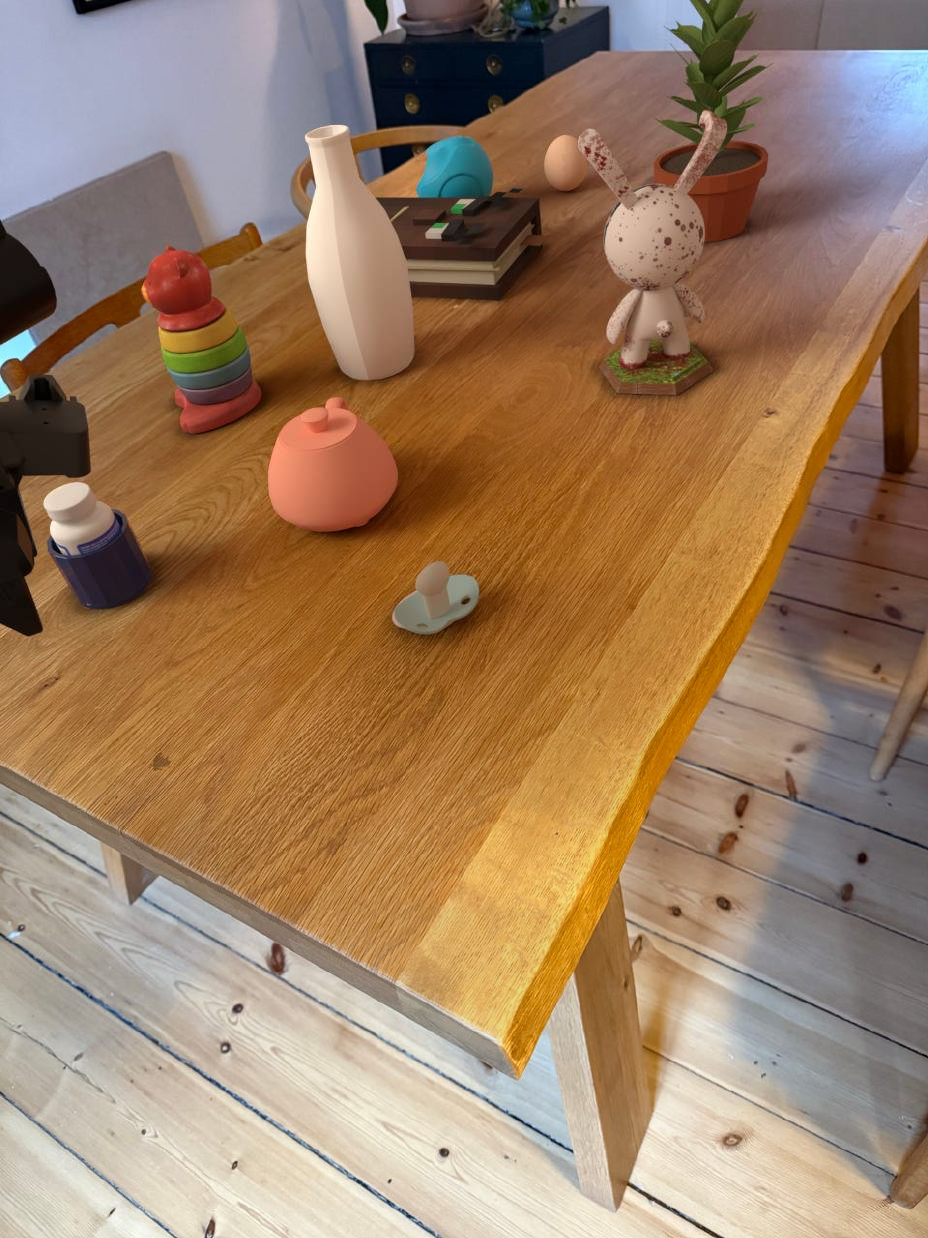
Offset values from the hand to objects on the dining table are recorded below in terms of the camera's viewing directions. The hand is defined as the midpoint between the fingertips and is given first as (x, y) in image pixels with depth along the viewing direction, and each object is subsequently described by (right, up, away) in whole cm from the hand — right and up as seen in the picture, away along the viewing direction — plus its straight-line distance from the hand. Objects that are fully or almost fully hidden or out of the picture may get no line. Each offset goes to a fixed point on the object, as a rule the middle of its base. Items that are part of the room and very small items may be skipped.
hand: (33, 593), depth 63 cm
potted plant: (+64, +52, +60) cm, 101 cm away
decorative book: (+27, +47, +62) cm, 82 cm away
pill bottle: (-2, +2, +19) cm, 19 cm away
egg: (+47, +66, +78) cm, 112 cm away
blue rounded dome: (+30, +60, +76) cm, 101 cm away
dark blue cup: (-2, +1, +20) cm, 20 cm away
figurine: (+51, +25, +34) cm, 66 cm away
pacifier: (+28, -2, +11) cm, 30 cm away
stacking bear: (+2, +23, +42) cm, 48 cm away
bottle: (+20, +29, +44) cm, 57 cm away
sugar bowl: (+19, +10, +24) cm, 32 cm away
